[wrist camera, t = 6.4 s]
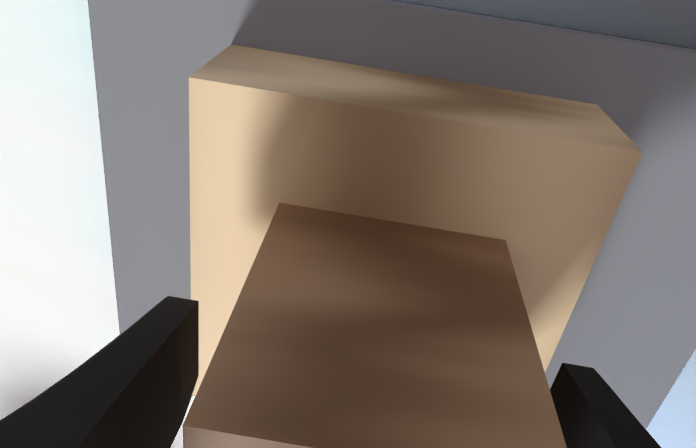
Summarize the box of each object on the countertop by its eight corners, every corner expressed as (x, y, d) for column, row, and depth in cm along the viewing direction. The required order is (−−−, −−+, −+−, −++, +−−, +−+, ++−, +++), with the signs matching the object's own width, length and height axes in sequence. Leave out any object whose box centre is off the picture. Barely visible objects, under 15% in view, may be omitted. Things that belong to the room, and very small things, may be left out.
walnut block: (505, 240, 12) (580, 493, 7) (452, 398, 15) (477, 671, 9) (279, 202, 12) (182, 425, 7) (265, 367, 15) (188, 621, 9)
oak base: (596, 104, 13) (642, 152, 11) (495, 371, 18) (510, 449, 15) (231, 44, 13) (188, 77, 11) (222, 324, 18) (191, 395, 15)
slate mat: (843, 73, 13) (861, 80, 13) (616, 453, 20) (622, 468, 20) (96, -48, 13) (83, -47, 13) (131, 370, 20) (124, 382, 20)
